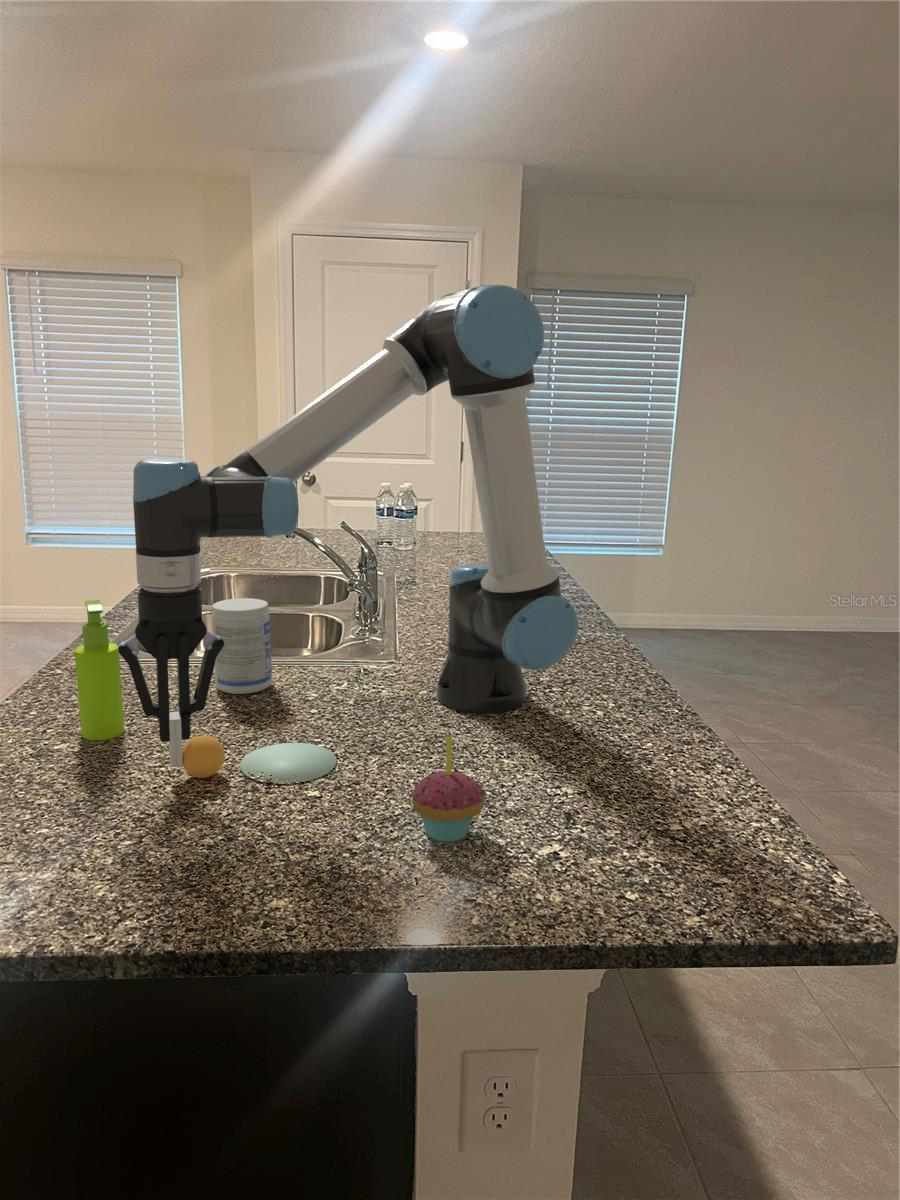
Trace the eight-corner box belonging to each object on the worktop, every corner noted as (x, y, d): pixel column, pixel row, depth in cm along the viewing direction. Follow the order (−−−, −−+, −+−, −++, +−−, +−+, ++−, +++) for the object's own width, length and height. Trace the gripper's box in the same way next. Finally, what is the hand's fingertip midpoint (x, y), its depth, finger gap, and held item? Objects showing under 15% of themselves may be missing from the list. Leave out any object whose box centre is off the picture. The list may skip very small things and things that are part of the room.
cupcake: (410, 815, 101) (411, 723, 99) (479, 813, 102) (482, 722, 99) (413, 852, 93) (414, 753, 90) (488, 851, 94) (492, 752, 91)
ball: (209, 788, 111) (239, 758, 112) (191, 784, 106) (222, 752, 107) (184, 760, 113) (214, 730, 114) (165, 754, 108) (196, 723, 108)
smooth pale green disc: (353, 754, 118) (353, 752, 118) (304, 792, 106) (304, 790, 106) (275, 738, 123) (275, 736, 123) (220, 773, 111) (220, 771, 111)
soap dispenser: (83, 745, 119) (72, 609, 114) (80, 728, 124) (68, 598, 120) (127, 739, 121) (118, 605, 116) (121, 722, 127) (112, 595, 122)
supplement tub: (280, 690, 143) (278, 607, 139) (226, 699, 138) (222, 613, 134) (259, 674, 151) (257, 595, 147) (207, 682, 145) (203, 600, 142)
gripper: (114, 595, 97) (123, 781, 103) (227, 590, 102) (231, 768, 108) (112, 581, 104) (121, 757, 109) (219, 577, 109) (222, 745, 114)
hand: (175, 762), depth 109 cm, fingers closed
